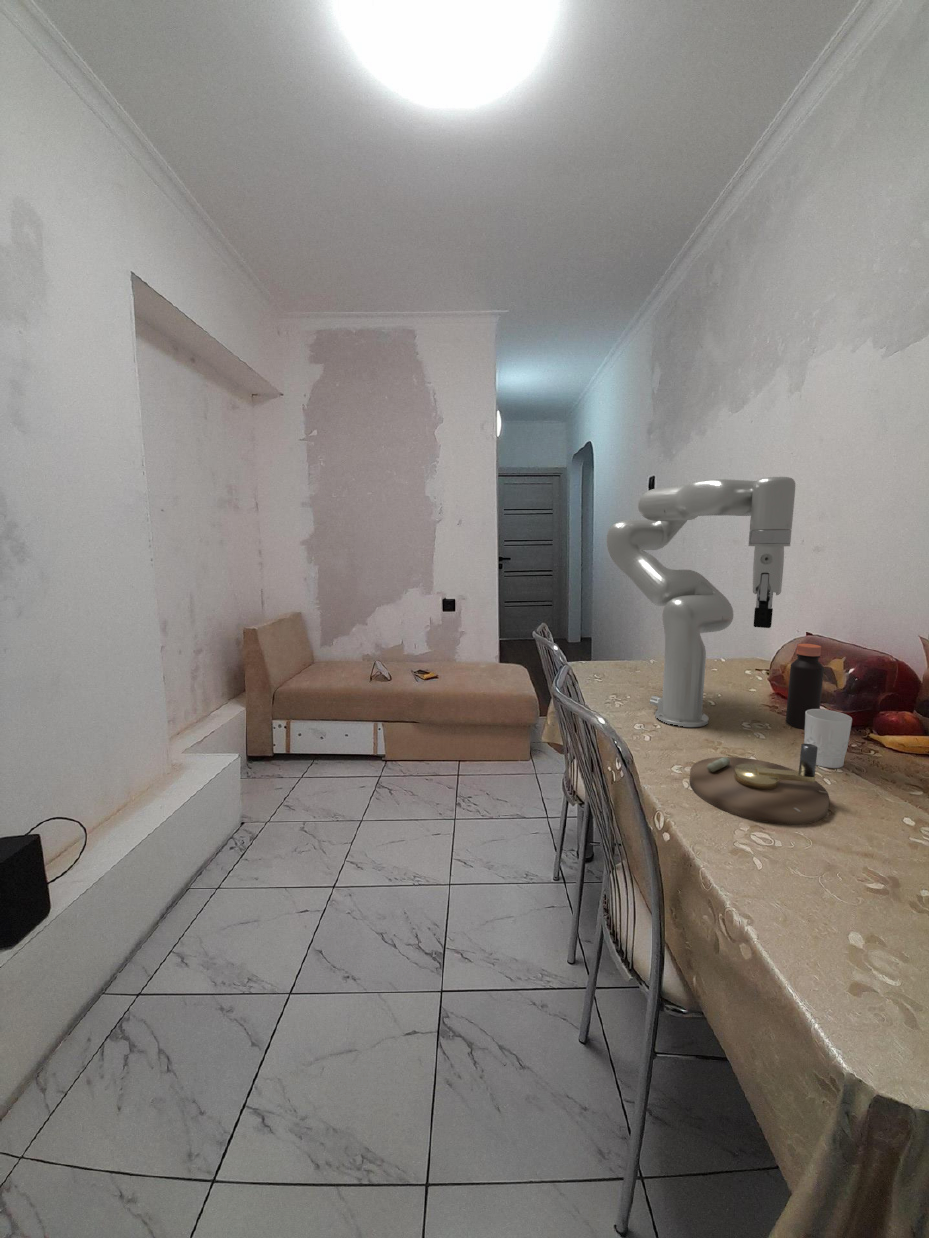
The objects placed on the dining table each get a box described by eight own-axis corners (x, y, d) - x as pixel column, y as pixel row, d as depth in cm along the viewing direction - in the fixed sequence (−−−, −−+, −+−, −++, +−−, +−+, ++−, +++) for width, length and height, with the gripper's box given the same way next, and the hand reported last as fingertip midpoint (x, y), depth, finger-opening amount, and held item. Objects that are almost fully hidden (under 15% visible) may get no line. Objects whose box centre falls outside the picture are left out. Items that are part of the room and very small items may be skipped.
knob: (740, 786, 93) (743, 747, 92) (730, 770, 100) (733, 733, 99) (821, 794, 90) (825, 754, 89) (805, 776, 97) (809, 739, 96)
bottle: (779, 722, 132) (786, 644, 129) (797, 718, 135) (804, 641, 132) (805, 731, 126) (813, 649, 123) (824, 727, 129) (832, 646, 126)
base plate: (665, 786, 98) (666, 767, 98) (726, 757, 111) (727, 741, 111) (794, 839, 81) (796, 817, 80) (848, 797, 94) (851, 778, 93)
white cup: (854, 771, 105) (860, 722, 103) (810, 767, 106) (815, 720, 105) (835, 755, 112) (840, 710, 111) (794, 752, 114) (799, 707, 112)
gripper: (789, 539, 101) (781, 634, 103) (791, 539, 113) (784, 623, 116) (745, 539, 105) (738, 630, 107) (752, 539, 117) (745, 620, 120)
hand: (762, 626), depth 112 cm, fingers closed
